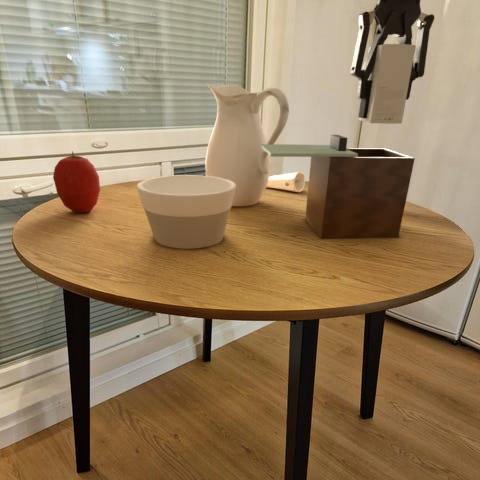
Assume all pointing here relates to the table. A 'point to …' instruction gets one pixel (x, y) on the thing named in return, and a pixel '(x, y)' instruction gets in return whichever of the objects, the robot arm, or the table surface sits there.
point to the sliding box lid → (311, 149)
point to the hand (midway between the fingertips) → (379, 117)
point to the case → (358, 193)
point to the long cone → (287, 182)
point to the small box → (389, 83)
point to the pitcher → (242, 141)
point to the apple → (77, 183)
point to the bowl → (187, 209)
